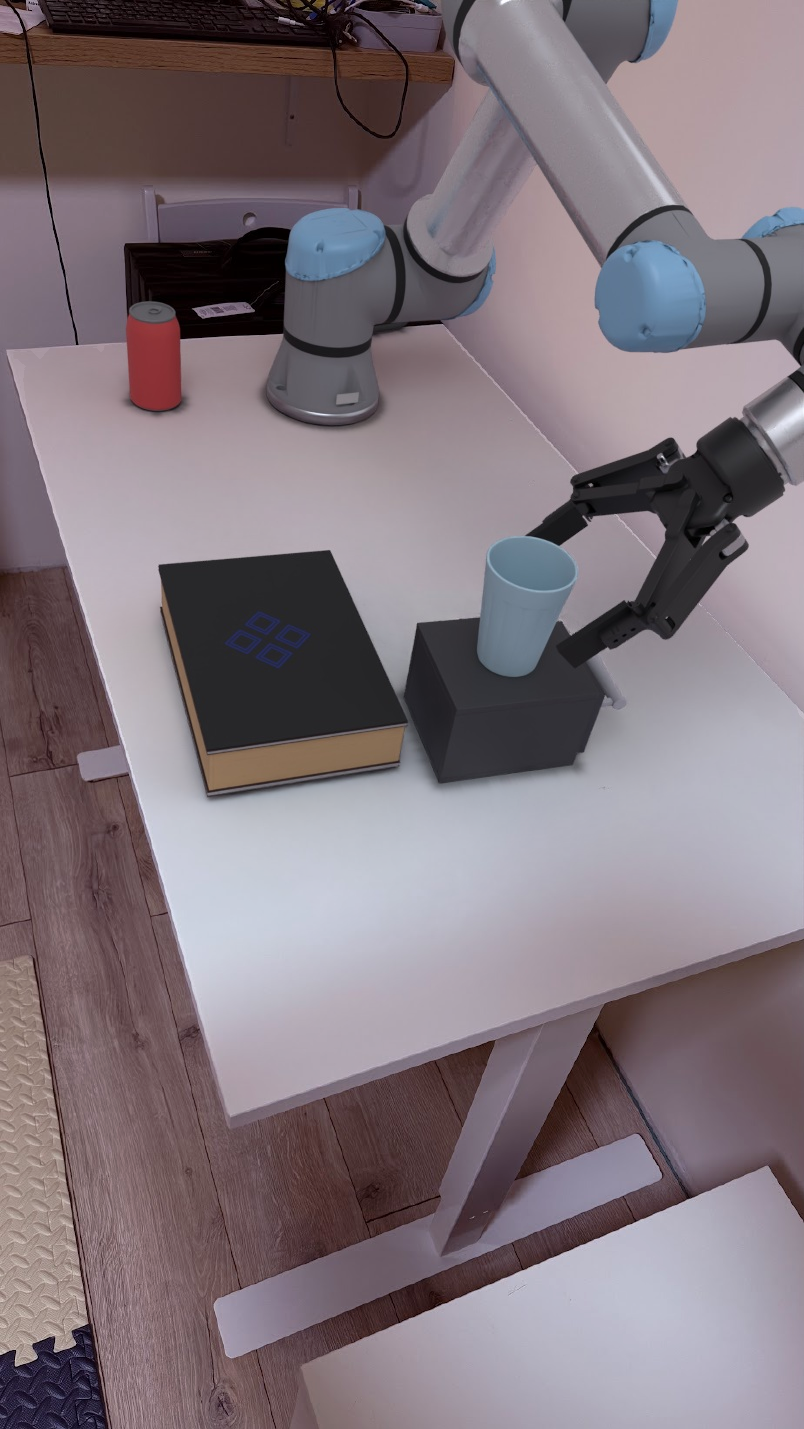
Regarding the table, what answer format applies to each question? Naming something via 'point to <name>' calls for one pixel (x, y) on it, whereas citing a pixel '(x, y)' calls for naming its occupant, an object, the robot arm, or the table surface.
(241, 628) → the book
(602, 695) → the drawer
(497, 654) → the cup
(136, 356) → the beer can
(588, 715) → the cabinet
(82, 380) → the table surface
